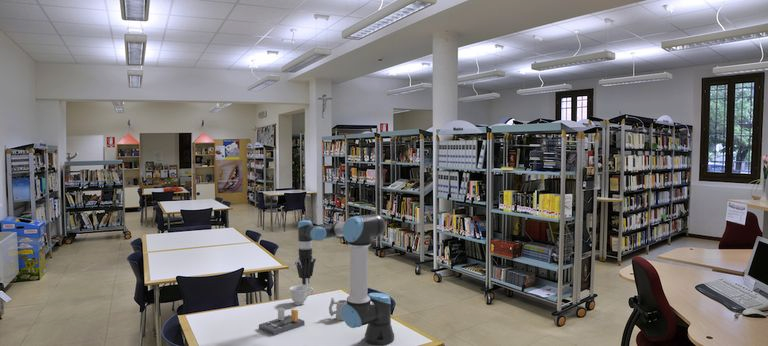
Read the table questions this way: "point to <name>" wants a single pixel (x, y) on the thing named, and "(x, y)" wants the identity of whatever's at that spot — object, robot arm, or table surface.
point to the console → (280, 325)
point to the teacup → (299, 294)
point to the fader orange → (294, 315)
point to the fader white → (281, 314)
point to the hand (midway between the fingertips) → (305, 289)
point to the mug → (338, 307)
